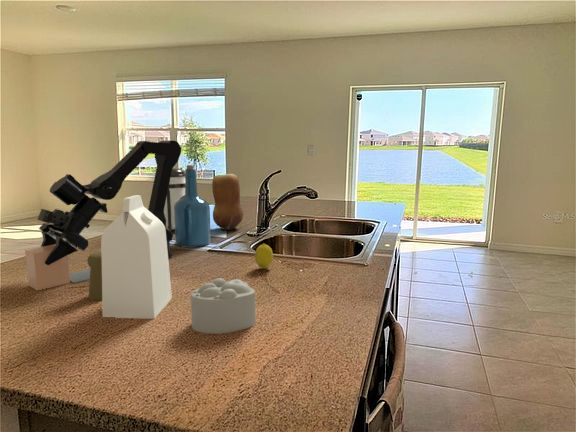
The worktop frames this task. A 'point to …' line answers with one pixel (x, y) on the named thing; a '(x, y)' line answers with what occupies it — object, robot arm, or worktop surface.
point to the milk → (135, 264)
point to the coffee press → (174, 196)
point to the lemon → (263, 256)
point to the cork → (95, 276)
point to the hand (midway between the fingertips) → (41, 261)
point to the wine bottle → (191, 215)
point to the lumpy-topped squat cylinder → (223, 306)
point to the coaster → (80, 276)
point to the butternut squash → (227, 201)
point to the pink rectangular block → (45, 268)
